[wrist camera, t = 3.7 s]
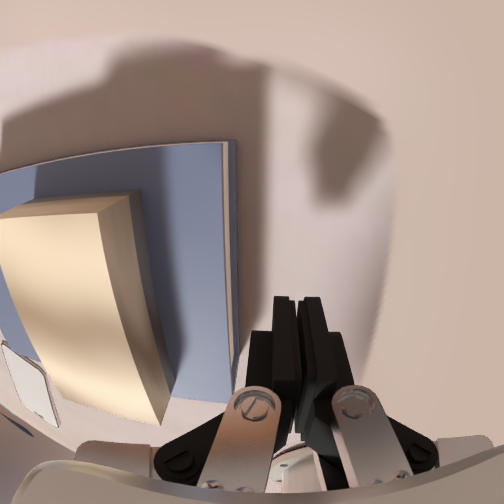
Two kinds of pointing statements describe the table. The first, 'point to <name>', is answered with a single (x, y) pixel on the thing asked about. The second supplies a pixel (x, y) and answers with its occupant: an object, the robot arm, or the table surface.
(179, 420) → the table surface
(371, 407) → the robot arm
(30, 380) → the smartphone
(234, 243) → the textbook
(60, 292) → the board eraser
